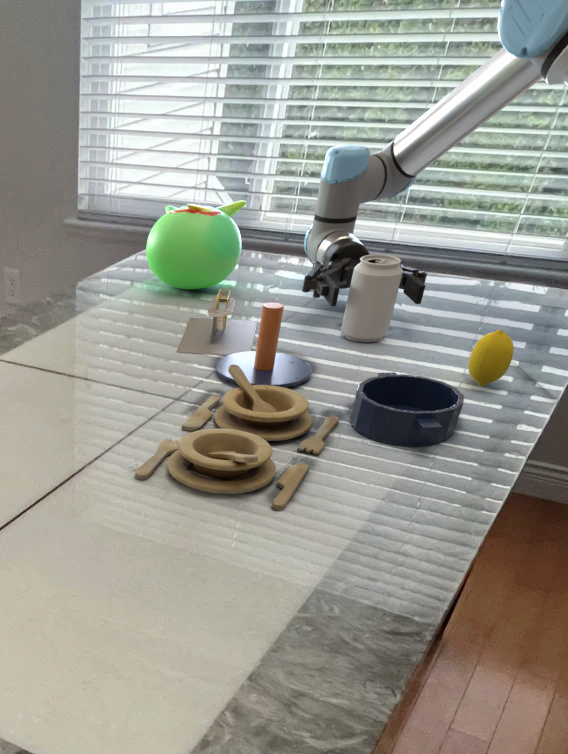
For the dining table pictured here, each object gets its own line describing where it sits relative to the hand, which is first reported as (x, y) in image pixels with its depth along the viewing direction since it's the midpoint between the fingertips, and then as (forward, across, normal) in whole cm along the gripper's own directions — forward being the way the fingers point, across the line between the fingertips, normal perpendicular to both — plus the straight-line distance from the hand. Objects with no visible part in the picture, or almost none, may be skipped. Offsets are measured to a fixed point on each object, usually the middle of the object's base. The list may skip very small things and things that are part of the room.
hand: (378, 296), depth 135 cm
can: (-3, 0, -7) cm, 8 cm away
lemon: (+20, -11, -7) cm, 24 cm away
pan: (+33, +5, -7) cm, 34 cm away
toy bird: (-34, +25, -7) cm, 42 cm away
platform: (-5, +24, -7) cm, 25 cm away
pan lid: (+13, +20, -6) cm, 25 cm away
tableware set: (+40, +28, -7) cm, 49 cm away
